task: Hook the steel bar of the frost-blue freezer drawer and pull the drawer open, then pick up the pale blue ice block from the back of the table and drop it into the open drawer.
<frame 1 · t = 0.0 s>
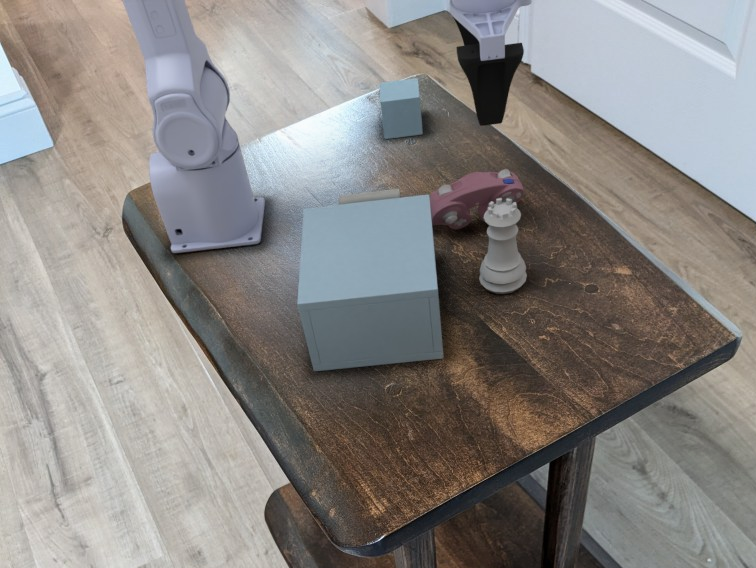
hand: (486, 101, 82), 10 cm above the table, tool pointing down, fingers open, 7 cm apart
ice block: (403, 127, 100), on the table
rook chess piece: (502, 282, 81), on the table
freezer: (377, 315, 80), on the table
freezer drawer: (371, 254, 80), point 4 cm above the table, slide at 0.0 cm, touching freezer
pink toy car: (473, 223, 88), on the table
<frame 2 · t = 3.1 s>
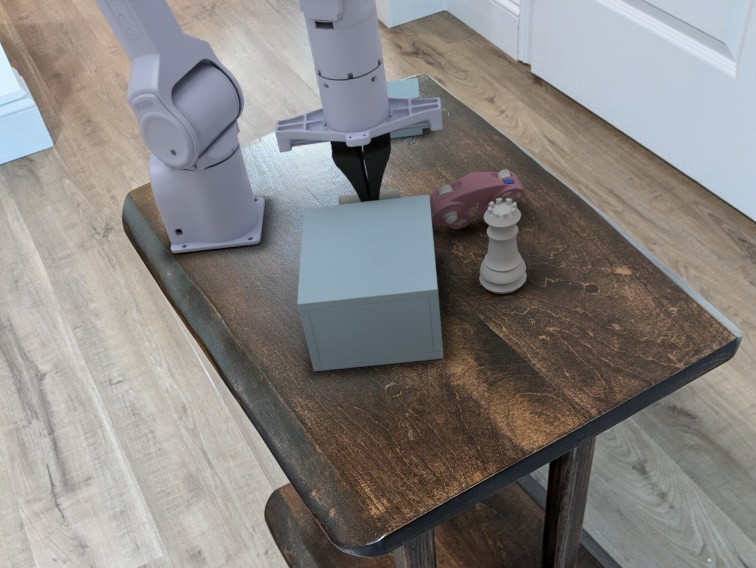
hand: (372, 208, 82), 5 cm above the table, tool pointing down, fingers closed, pressing on freezer drawer
freezer drawer: (371, 254, 80), point 4 cm above the table, slide at 0.0 cm, touching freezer, gripper
everything else where it was.
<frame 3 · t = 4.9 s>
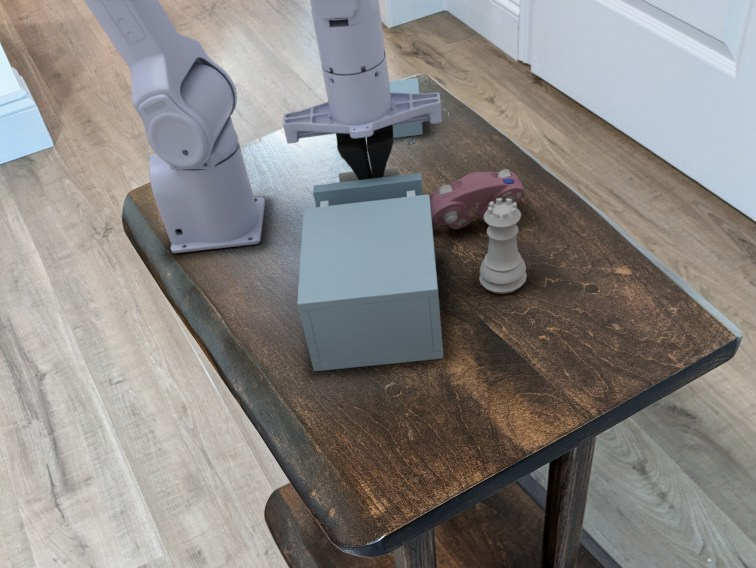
hand: (375, 197, 86), 3 cm above the table, tool pointing down, fingers closed, pressing on freezer drawer
freezer drawer: (371, 229, 82), point 4 cm above the table, slide at 4.0 cm, touching gripper
everything else where it was.
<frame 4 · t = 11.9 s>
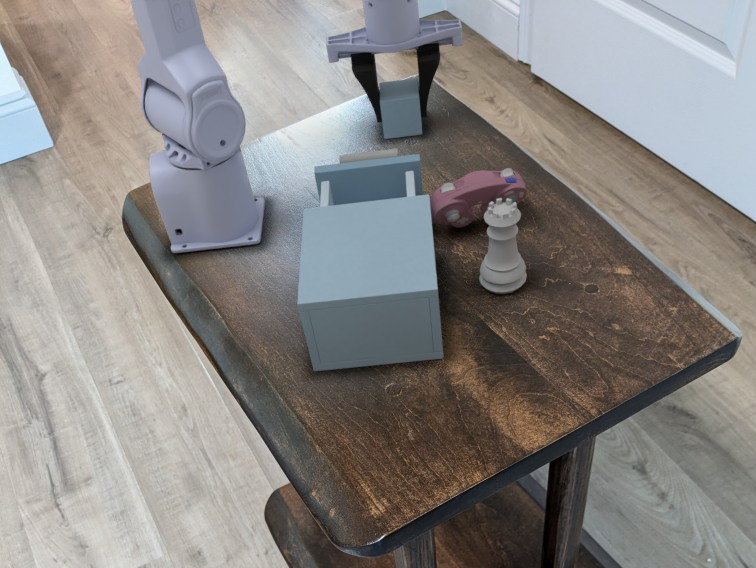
hand: (401, 115, 99), 1 cm above the table, tool pointing down, fingers closed on ice block, 4 cm apart
ice block: (402, 127, 100), on the table, touching gripper
freezer drawer: (370, 209, 84), point 4 cm above the table, slide at 7.3 cm
everything else where it was.
when the fingers open (6 cm above the table, at t = 17.3 s): ice block drops 3 cm, resting on freezer drawer.
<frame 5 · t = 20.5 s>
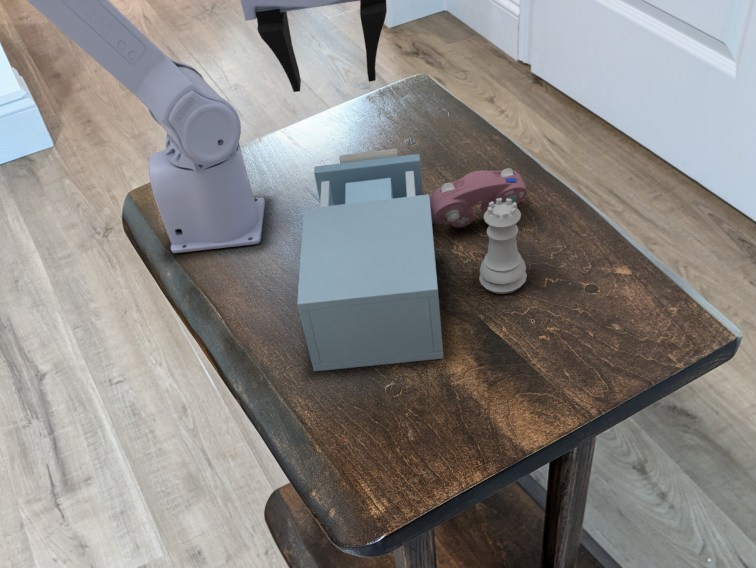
hand: (334, 81, 87), 10 cm above the table, tool pointing down, fingers open, 7 cm apart
ice block: (374, 233, 85), point 2 cm above the table, touching freezer drawer
freezer drawer: (370, 209, 84), point 4 cm above the table, slide at 7.3 cm, touching ice block
everything else where it was.
at the end: freezer drawer slide at 7.3 cm; ice block inside the target area in the freezer drawer (1.3 cm from its centre), point 2.0 cm above the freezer's base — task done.
